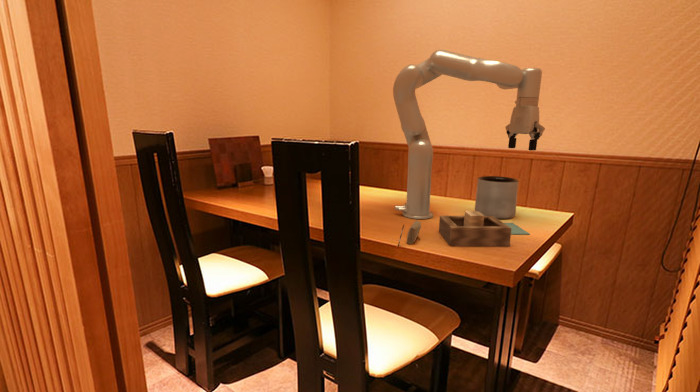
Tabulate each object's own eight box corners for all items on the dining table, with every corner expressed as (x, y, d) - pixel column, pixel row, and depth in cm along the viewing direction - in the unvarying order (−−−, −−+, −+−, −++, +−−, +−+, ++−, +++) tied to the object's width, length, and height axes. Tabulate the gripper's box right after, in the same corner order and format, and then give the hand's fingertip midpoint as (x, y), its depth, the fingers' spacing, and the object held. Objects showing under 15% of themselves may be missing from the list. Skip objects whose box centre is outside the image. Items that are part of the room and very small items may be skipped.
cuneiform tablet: (397, 246, 117) (405, 235, 128) (411, 250, 116) (417, 238, 127) (402, 225, 115) (410, 216, 126) (416, 230, 114) (422, 219, 125)
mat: (495, 234, 130) (495, 233, 130) (481, 223, 144) (481, 222, 144) (529, 234, 130) (529, 233, 130) (512, 223, 144) (512, 222, 144)
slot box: (450, 246, 118) (451, 227, 116) (438, 231, 132) (439, 215, 131) (509, 246, 118) (511, 228, 117) (491, 232, 132) (493, 215, 131)
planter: (516, 221, 146) (520, 183, 143) (473, 217, 152) (476, 180, 149) (513, 212, 161) (517, 177, 158) (475, 209, 167) (478, 174, 163)
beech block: (468, 241, 122) (470, 215, 120) (462, 236, 128) (464, 211, 126) (481, 242, 122) (484, 215, 120) (475, 236, 128) (477, 211, 126)
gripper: (501, 103, 144) (497, 147, 148) (539, 102, 129) (533, 151, 132) (516, 104, 147) (511, 147, 151) (554, 102, 132) (548, 151, 135)
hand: (521, 149), depth 142 cm, fingers open, 9 cm apart
